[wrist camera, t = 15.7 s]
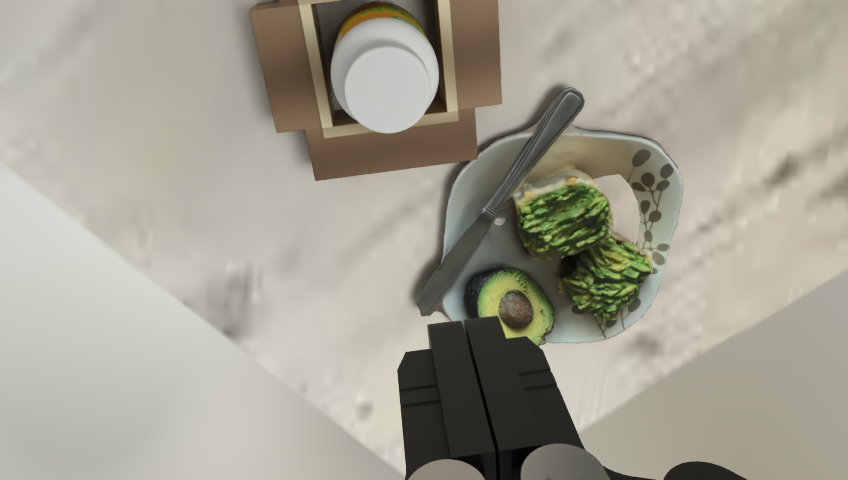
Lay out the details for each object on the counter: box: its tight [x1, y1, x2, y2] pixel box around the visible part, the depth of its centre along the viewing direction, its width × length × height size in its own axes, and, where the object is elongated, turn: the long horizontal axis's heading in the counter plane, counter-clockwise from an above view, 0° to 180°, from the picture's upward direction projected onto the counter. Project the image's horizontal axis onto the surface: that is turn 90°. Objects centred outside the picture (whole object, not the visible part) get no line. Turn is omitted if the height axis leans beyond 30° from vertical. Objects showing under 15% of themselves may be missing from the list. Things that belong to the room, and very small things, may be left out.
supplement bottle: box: [331, 2, 439, 133], centre depth 32 cm, size 5×5×10 cm
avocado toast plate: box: [417, 87, 683, 347], centre depth 41 cm, size 19×18×5 cm
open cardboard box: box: [249, 0, 502, 181], centre depth 35 cm, size 13×13×3 cm
